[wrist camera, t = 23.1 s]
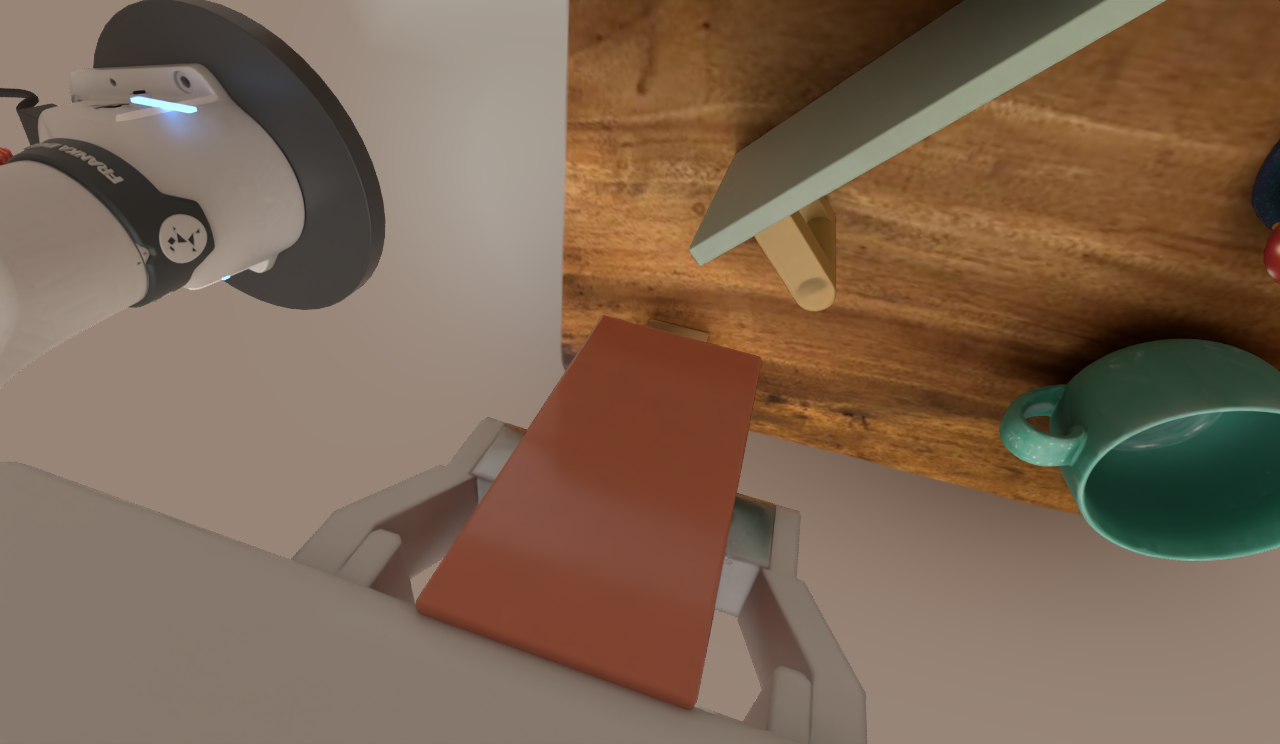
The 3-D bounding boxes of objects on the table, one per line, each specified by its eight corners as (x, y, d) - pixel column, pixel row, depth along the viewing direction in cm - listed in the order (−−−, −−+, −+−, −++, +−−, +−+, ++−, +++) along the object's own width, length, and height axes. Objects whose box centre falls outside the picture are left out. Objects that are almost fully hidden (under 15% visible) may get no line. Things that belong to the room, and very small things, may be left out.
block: (589, 430, 16) (437, 720, 10) (601, 312, 14) (411, 602, 8) (725, 470, 16) (652, 803, 10) (763, 355, 13) (697, 704, 7)
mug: (1317, 342, 36) (1443, 445, 28) (1178, 477, 43) (1248, 586, 36) (1035, 281, 38) (1083, 361, 31) (950, 420, 46) (972, 510, 38)
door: (1132, 50, 30) (1336, 119, 18) (787, 239, 41) (766, 363, 28) (1088, -84, 28) (1289, -111, 15) (734, 153, 38) (687, 250, 26)
